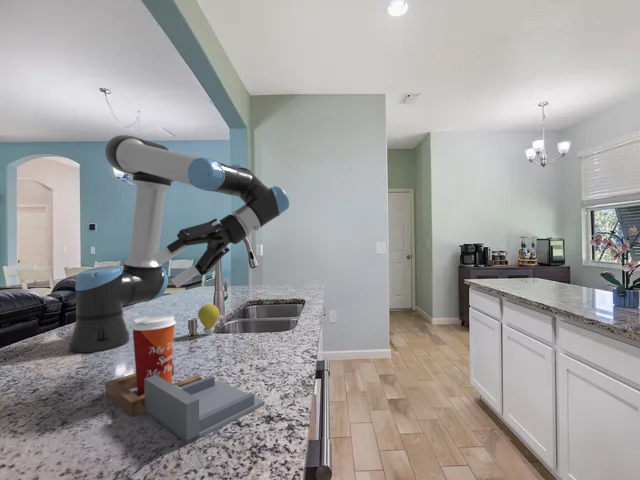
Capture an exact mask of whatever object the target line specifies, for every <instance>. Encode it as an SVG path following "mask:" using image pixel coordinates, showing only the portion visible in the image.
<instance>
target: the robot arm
mask: <svg viewBox="0 0 640 480" xmlns="http://www.w3.org/2000/svg"><path fill="white" fill-rule="evenodd" d="M104 154H105V158H106V160H107V161H108V163H109V164H110V166H111V167H113V168H114V169H115V170H117V171H119V172H121V173H124V174H129V175H132V182H133V184H134V185H135V186H136V195H135V204H134V214H133V223H132V224H133V225H132V230H131V231H132V232H131V241H130V250H129V258H127V259H126V260H124V261H123V268H122V266H119V265H109V266H100V267H95V268H90V269H86V270H83V271H81V272H79V273H78V274H77V276H76V278H75V286H74V289H75V316H76V317H75V318H76V319H75V326H74V329H73V331H72V335H71V338H70V339H69V341H68V350H69V352H73V353H93V352H100V351H106V350H110V349H115V348H118V347H120V346H123V345H125V344H127V343H129V342H130V332H129V330H128V329H127V325H126V322H125V320H124V317H123V307H124V306H129V305H133V304H139V303H146V302H151V301H153V300H156V299H160V297H162V296H163V295H164V293H165V292H166V290H167V287H168V285H169V276H168V275H167V271H166V270H165V269H164V268H163V264H164V263H166V262H169V260H171V259H173V258H174V257H175V256H177V255H179V254H180V253H182V252H184V251H185V250H187V247H188V246H194V245H201V244H207V246H206V250H205V251H204V253H203V254H202V255H201V257H200V258H199V260H198V261H197V263H196V264H195V265H194V264H191V265H190V266H189V267H187V268H186V269H184V270H183V271H181V272H180V273H178V274H177V275H176V276H174V277H173V278H171V279H170V280H171V282H172V283H173V285H174V286H175V287H176V288H177V289H178V288H180V287H181V286H183V285H184V284H185V283H187V282H189V281H190V280H191V279H193V278H194V277H196V276H197V275H199V274H200V276H205V275H207V274H208V272H210V270H212V268H213V267H214V266H215V265H216V264H217V263H218V262H219V261H220V260H221V259H222V258H223V257H224V255H226V254H228V252H230V251H231V249H230V247H228V245H229V244H233V245H238V244H239V243H240V242H242V241H244V240H245V239H246V238H247V236H248V237H249V236H250V235H252V234H253V233H255V232H257V231H259V230H260V228H262V227H264V226H265V225H266V224H268V223H269V222H271V221H273V220H274V219H276V218H277V217H280V215H282V214H283V213H284V212H286V211H287V210H288V209H289V207H290V199H289V197H288V195H287V193H286V191H285V190H284V189H283V188H282V187H280V186H278V185H274V186H271V187H268V186H266V185H265V184H264V183H263V182H262V181H261V180H260V179H259V178H258V177H257V176H256V175H255V174H254V172H253V171H251V170H250V169H249V168H248V167H246V166H245V165H244V164H241V163H237V164H233V165H227V164H226V163H225V164H224V163H222V162H219V161H217V160H215V159H212V158H208V157H199V156H194V155H191V154H186V153H181V152H178V151H177V152H176V151H174V150H173V149H171V148H170V147H167V146H165V145H163V144H158V143H155V142H152V141H148V140H145V139H142V138H139V137H138V136H137V137H136V136H132V135H128V134H127V135H126V134H122V135H117V136H115V137H114V136H113V137H112V138H111V139H109V141H107V144H106V145H105V150H104ZM173 182H178V183H182V184H186V185H189V186H192V187H195V188H196V189H199V190H201V191H206V192H214V193H219V194H224V195H230V196H234V197H239V199H241V201H243V202H244V203H245V204H244V205H241V206H240V207H238V208H237V209H236V210H234V211H232V212H231V214H227V215H226V216H224V217H222V218H221V219H220V220H219V219H218V218H214V219H212V220H210V221H208V222H204V223H201V224H197V225H194V226H189V227H186V228H181V229H180V230H179V232H178V233H177V234H176V237H177V238H178V239H176V240H174V241H173V242H171V243H169V244H168V245H167V246H165V247H164V248H162V249H160V244H161V236H162V235H161V233H162V225H163V217H164V208H165V201H166V200H165V199H166V192H167V191H168V190H169V189H171V187H172V183H173Z"/></svg>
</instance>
